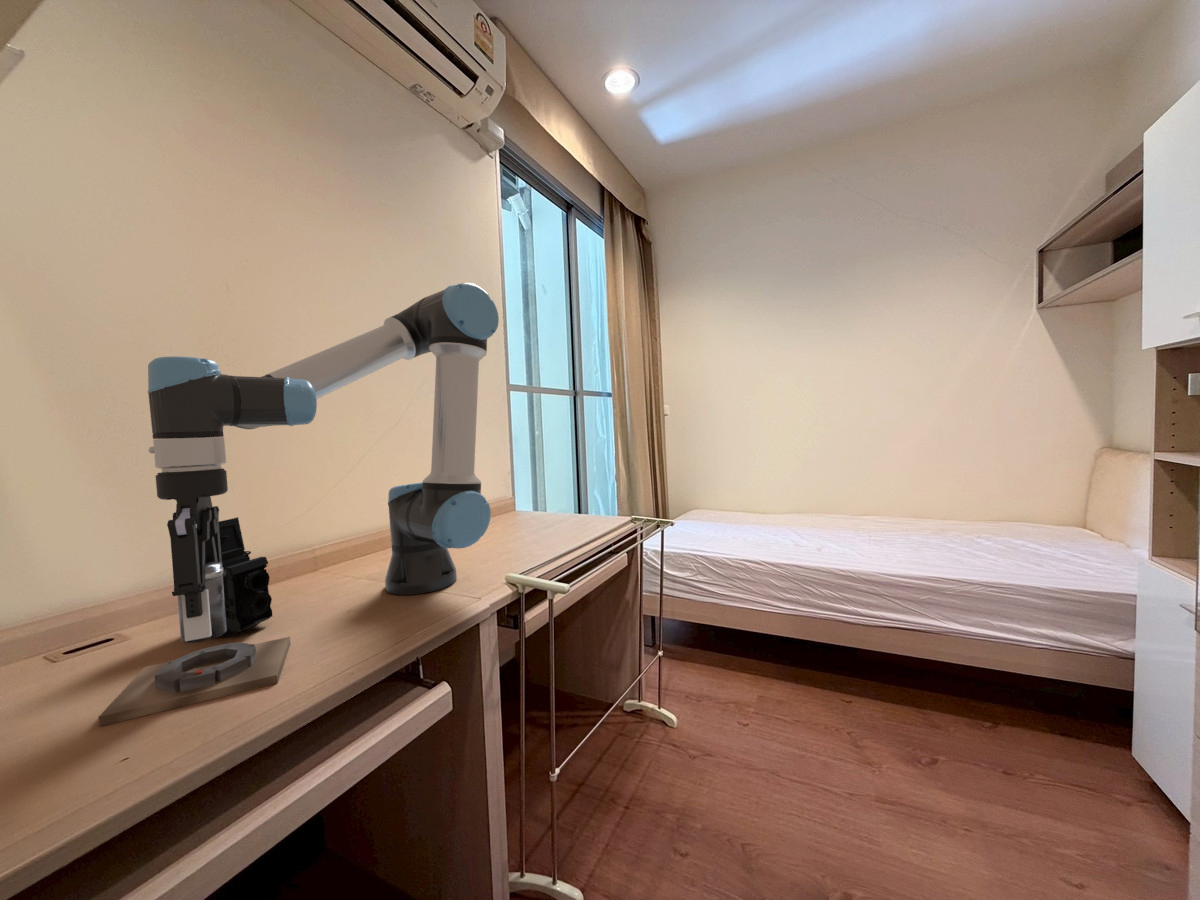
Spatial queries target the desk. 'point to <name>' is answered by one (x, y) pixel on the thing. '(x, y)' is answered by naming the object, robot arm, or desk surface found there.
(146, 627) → the desk surface
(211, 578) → the lens
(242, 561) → the camera
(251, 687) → the mount board
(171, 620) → the desk surface
